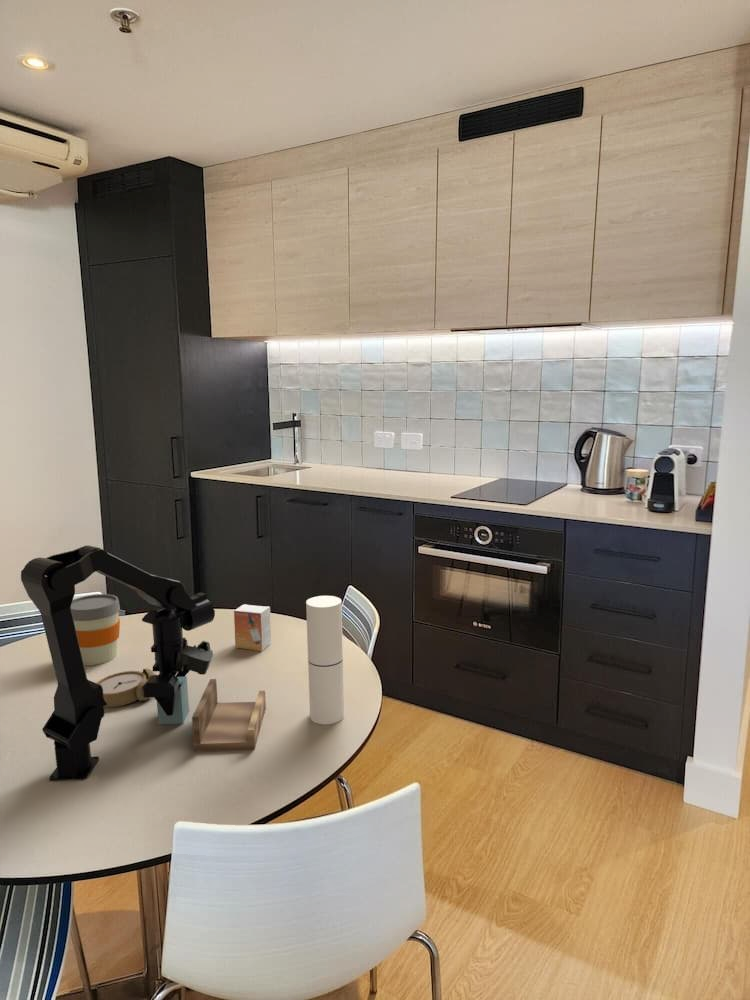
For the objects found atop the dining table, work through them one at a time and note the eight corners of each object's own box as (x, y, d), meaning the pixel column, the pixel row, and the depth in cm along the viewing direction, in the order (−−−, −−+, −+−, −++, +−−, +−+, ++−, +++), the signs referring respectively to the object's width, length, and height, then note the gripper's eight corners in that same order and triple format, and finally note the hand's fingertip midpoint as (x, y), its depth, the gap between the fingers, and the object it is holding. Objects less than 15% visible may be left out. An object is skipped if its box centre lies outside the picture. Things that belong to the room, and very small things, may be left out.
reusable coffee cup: (130, 647, 173) (126, 593, 170) (113, 667, 160) (108, 609, 158) (83, 648, 172) (77, 594, 170) (62, 668, 160) (56, 610, 157)
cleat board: (254, 749, 123) (253, 715, 122) (194, 751, 123) (192, 717, 122) (265, 707, 139) (264, 677, 138) (212, 709, 139) (210, 678, 138)
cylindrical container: (313, 726, 131) (309, 608, 127) (307, 709, 138) (303, 597, 134) (347, 721, 133) (344, 605, 129) (340, 705, 140) (337, 594, 136)
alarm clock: (97, 675, 150) (163, 659, 152) (103, 695, 151) (168, 678, 153) (86, 698, 139) (157, 680, 141) (92, 719, 140) (163, 700, 142)
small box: (234, 648, 171) (232, 610, 169) (245, 640, 176) (243, 603, 174) (262, 651, 169) (260, 613, 167) (272, 643, 174) (270, 606, 172)
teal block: (183, 723, 133) (180, 687, 132) (158, 724, 133) (155, 688, 132) (189, 711, 138) (186, 676, 137) (165, 712, 138) (162, 677, 137)
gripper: (197, 655, 124) (202, 731, 126) (217, 620, 142) (221, 687, 145) (138, 657, 123) (144, 732, 126) (165, 621, 142) (170, 688, 144)
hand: (173, 708), depth 135 cm, fingers closed on teal block, 5 cm apart
